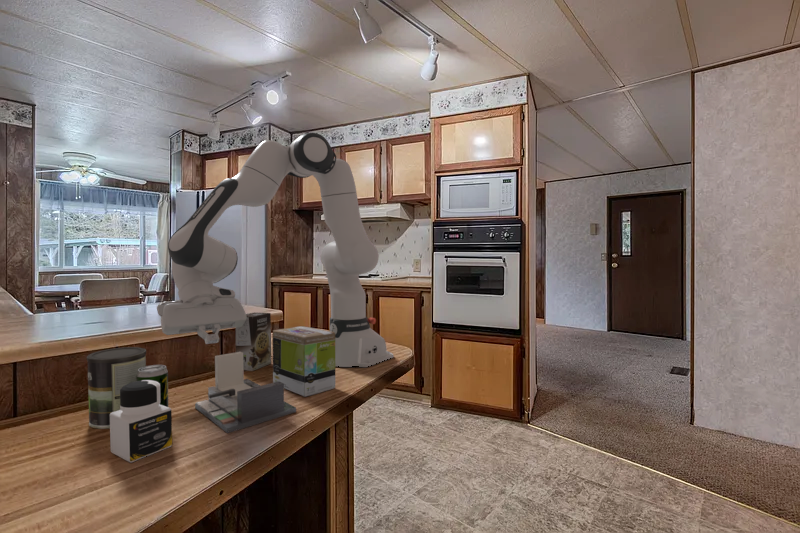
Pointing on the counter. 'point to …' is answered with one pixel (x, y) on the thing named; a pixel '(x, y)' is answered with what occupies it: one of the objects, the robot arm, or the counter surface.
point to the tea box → (304, 359)
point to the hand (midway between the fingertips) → (212, 342)
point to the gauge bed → (246, 406)
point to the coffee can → (110, 380)
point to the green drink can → (156, 379)
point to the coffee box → (255, 341)
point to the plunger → (229, 375)
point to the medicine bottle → (140, 422)
